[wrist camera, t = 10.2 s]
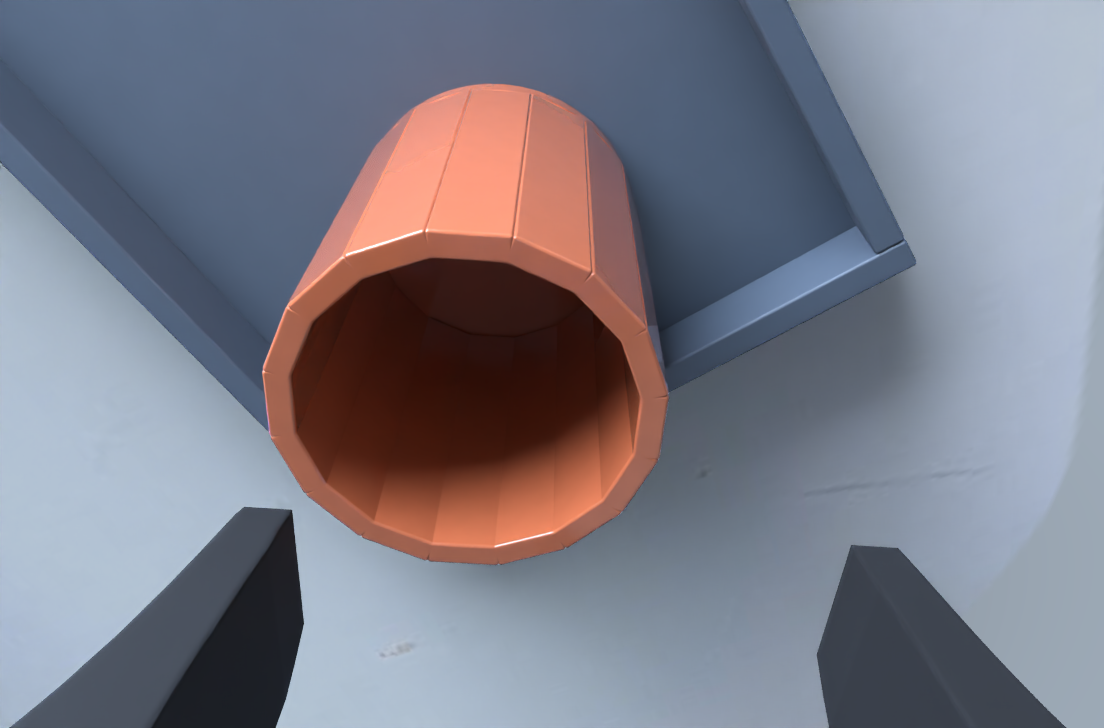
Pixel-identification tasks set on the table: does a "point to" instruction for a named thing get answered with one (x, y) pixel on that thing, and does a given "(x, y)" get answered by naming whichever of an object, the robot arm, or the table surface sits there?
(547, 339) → the cup
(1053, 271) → the table surface
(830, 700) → the robot arm
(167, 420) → the table surface
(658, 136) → the tray
